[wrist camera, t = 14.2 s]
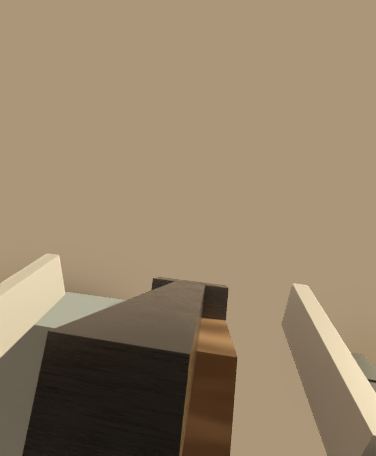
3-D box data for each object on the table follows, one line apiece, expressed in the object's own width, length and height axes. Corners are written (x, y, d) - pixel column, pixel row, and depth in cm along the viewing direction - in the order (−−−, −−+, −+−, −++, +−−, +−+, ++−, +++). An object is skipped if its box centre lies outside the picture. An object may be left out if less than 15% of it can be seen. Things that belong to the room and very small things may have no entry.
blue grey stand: (-44, 863, 13) (61, 329, 18) (-182, 800, 14) (-47, 311, 19) (92, 541, 29) (129, 300, 34) (21, 522, 30) (67, 292, 35)
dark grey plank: (306, 575, 5) (311, 374, 6) (-90, 473, 6) (-47, 315, 7) (223, 314, 32) (226, 285, 33) (155, 304, 33) (159, 277, 34)
